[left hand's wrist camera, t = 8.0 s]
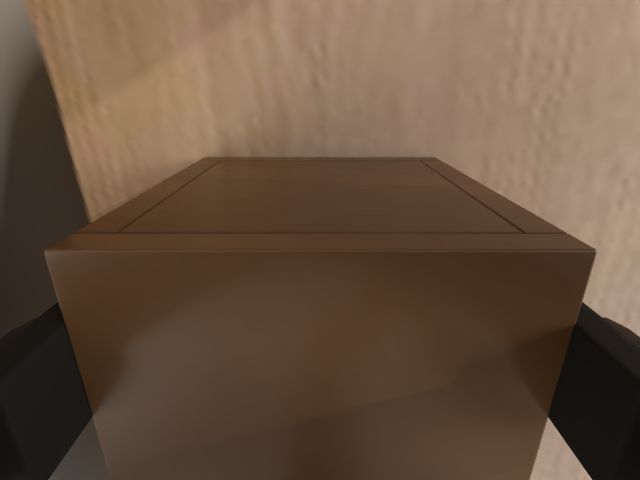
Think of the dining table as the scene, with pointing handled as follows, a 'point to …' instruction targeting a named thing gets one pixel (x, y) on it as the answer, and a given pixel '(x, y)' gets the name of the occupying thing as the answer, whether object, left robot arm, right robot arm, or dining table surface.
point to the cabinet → (320, 323)
